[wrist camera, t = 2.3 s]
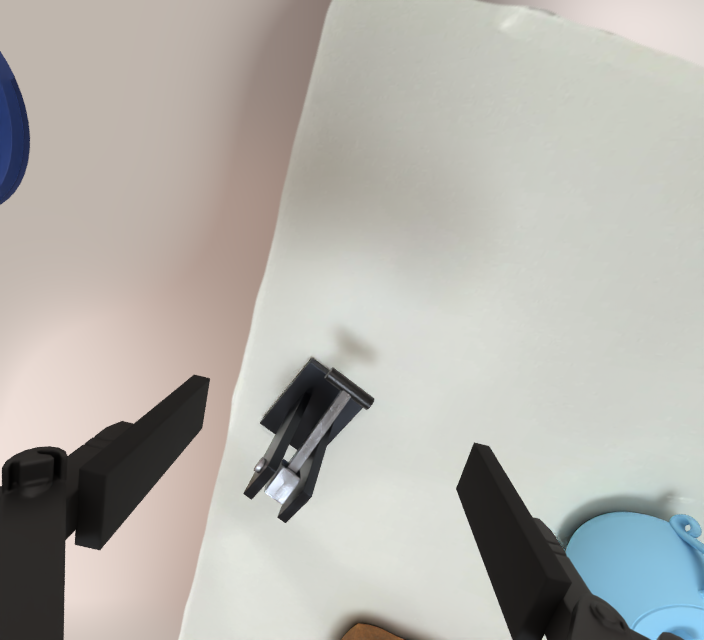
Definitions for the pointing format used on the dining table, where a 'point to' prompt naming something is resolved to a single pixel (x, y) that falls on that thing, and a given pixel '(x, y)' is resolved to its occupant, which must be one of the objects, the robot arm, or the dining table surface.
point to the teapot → (645, 570)
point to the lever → (315, 436)
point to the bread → (368, 633)
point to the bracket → (300, 433)
